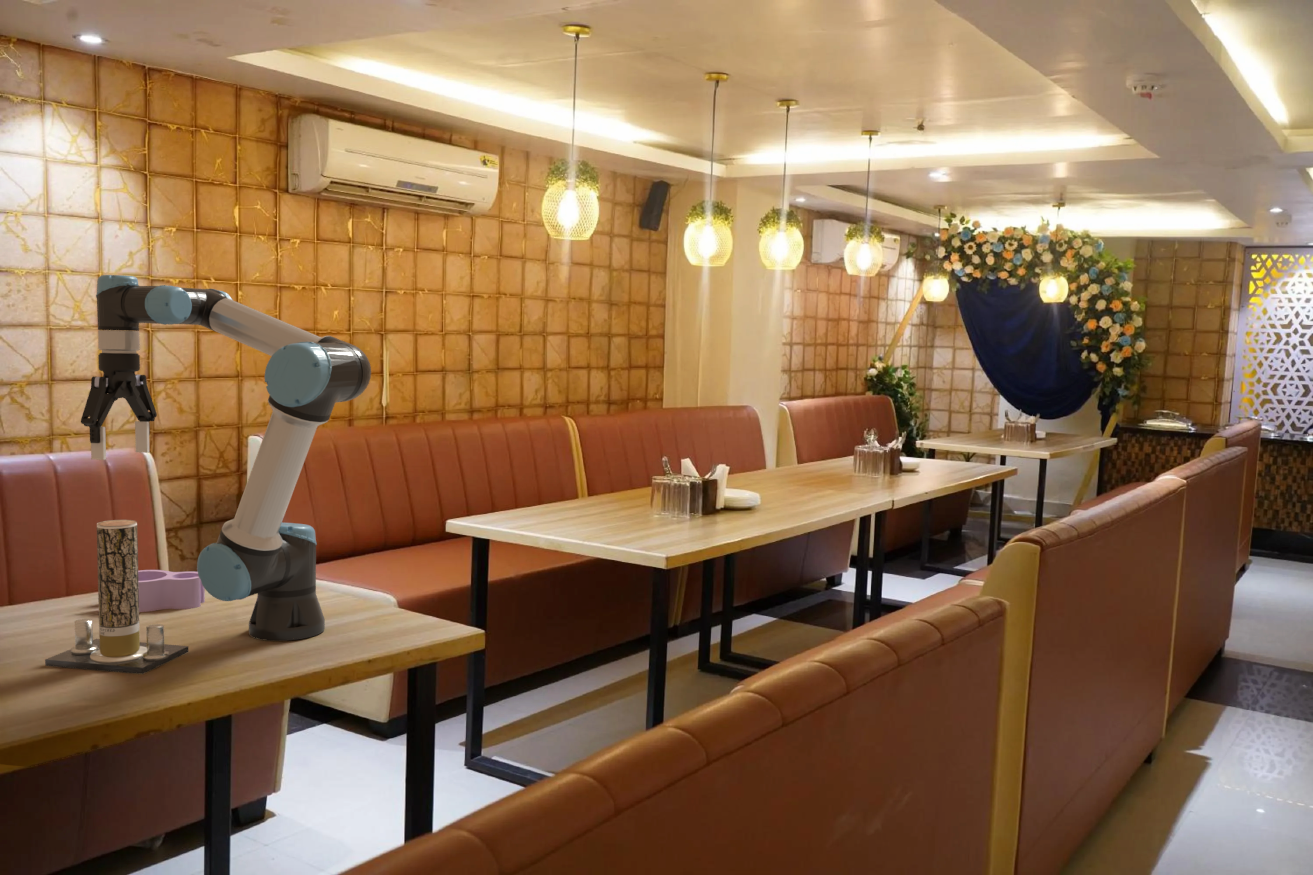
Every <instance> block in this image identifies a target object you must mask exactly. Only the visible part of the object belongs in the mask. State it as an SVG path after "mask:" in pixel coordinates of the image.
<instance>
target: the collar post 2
mask: <svg viewBox="0 0 1313 875" xmlns="http://www.w3.org/2000/svg"><path fill="white" fill-rule="evenodd" d="M145 632H146V643H147V652H145V653H143V660H145V661H159V660H163V659H166V658H168V657H169V652H168V651H166V650H164V644H165V625H164V624H161V623H159V624H158V623H157V624H150V625H147V626H146V630H145Z"/></svg>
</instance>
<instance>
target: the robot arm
mask: <svg viewBox="0 0 1313 875" xmlns="http://www.w3.org/2000/svg"><path fill="white" fill-rule="evenodd" d="M96 283H97V284H96V294H95V297H96V312H97V313H96V314H97V330H98V331H97V338H98V342H97V346H98V348H97V349H98V350H100V351H101V352H99V354H97V355H98V357H97V358H98V359H97V360H98V362H97V364H98V370H99V371H100V372H103V376H92V377H91V380H90V382H91V383H90V388H89V389H90V390H89V392H88V395H87V399H86V402H85V405H84V409H83V412H82V416H81V418H80V424H82V425H83V426H84V427H89V428H88V429H89V442H90V443H89V444H90V451H91V452H90V456H91V458H90V459H91V460H99V461H100V460H101V461H105V460H107V440H106V438H107V437H106V436H107V435H106V426H103V424H104V422H105V420H106V418H107V417H108V416H109V415H108V414H109V413H110V411H111V409H112V407H113V405H114V404H115V401H118V400H119V399H125V400H126V402H127V404H128V406H129V407H130V409H131V410H132V412H133V414H134V415H135V418H136V419H137V420H138V421H137V420H136V421H134V431H135V432H134V434H135V436H134V438H135V441H134V442H135V444H134V445H135V453H143V454H144V453H146V454H147V453H150V434H151V433H150V432H151V431H150V429H151V428H150V426H151V425H150V423H151V422H155V420H156V417H157V415H158V413H157V410H156V407H155V404H154V402H153V399H152V395H151V393H150V390H149V388H148V382H147V381H148V380H147V376H146V374H136V372H139V371H140V370H141V369H140V368H141V359H140V358H141V356H140V354H139V353H137V352H138V351H140V350H141V347H140V346H141V345H140V344H141V343H140V324H154V325H155V324H157V325H158V324H159V325H170V326H171V325H195V326H201V327H204V328H206V329H209V330H210V331H213V332H216V333H218V334H220V335H222V336H225V337H227V338H229V339H232V340H235V341H237V342H239V343H240V344H243V345H245V346H247V347H250V348H252V349H254V350H256V351H259V352H261V353H264V354H265V355H268V356H270V358H269V360H268V362H267V364H266V366H265V371H264V382H265V383H266V384H267V385H266V386H265V388H266V391H267V392H268V395H269V396H268V399H267V403H268V405H269V406H270V408H271V409H272V412H271V415H270V418H269V420H268V423H267V427H266V429H265V432H264V435H263V438H262V441H261V443H260V446H259V448H258V451H257V454H256V457H255V460H254V462H253V464H252V468H251V471H250V473H249V476H248V478H247V482H246V485H245V487H244V491H243V494H242V496H241V498H240V501H239V504H238V506H237V507H238V508H237V509H236V512H235V516H234V518H232V519H230V520H227V521H225V522H224V523H223V524H222V527H221V530H220V532H219V535H218V538H217V540H216V542H212V543H210V544H208V545H207V546H205V547H203V549H202V550H201V551H200V553H199V555H198V557H197V563H196V570H197V571H196V572H198V576H199V578H200V579H201V582H202V585H203V587H204V588H205V590H206V591H205V592H207V593H208V594H209V595H210V596H212V597H213V598H215V599H217V600H219V601H222V602H232V601H237V600H244V599H246V598H248V597H251V596H254V595H257V596H256V601H255V604H254V607H253V610H252V613H251V616H250V617H249V619H250V620H249V622H248V635H249V636H250V637H252V638H254V639H256V640H262V641H273V642H275V641H276V642H277V641H279V642H281V641H282V642H283V641H296V640H302V639H303V640H304V639H307V638H311V637H315V636H318V635H320V634H321V633H323V632H324V631H325V628H326V627H325V626H326V623H325V621H326V620H325V619H326V618H325V616H324V614H323V611H322V610H323V609H322V607H321V605H320V601H319V599H318V596H317V589H316V588H317V563H316V562H317V545H318V544H317V543H318V542H317V540H316V539H317V538H316V530H315V529H314V527H313V526H311V525H309V524H303V523H294V522H283V520H284V517H285V516H286V513H287V512H286V511H287V509H288V507H289V504H290V502H291V499H292V496H293V493H294V491H295V487H296V485H297V483H298V480H299V477H300V474H301V472H302V470H303V467H304V463H305V462H306V459H307V455H308V453H309V450H310V448H311V445H312V443H313V440H314V437H315V434H316V432H317V429H318V427H319V426H321V425H324V424H325V423H328V422H329V420H330V418H331V415H332V413H333V410H334V407H335V405H336V403H345V402H348V401H351V400H355V399H356V398H358V397H360V396H361V395H362V394H363V393H364V392H365V390H366V389H367V388H368V386H369V384H370V381H371V376H372V366H371V364H370V361H369V358H368V356H367V355H366V353H365V352H364V351H363V350H362V349H360V347H358V346H356V345H354V344H352V343H349V342H346V341H345V340H341V339H338V338H336V337H334V336H332V335H325V336H318V335H317V334H314V333H311V332H309V331H307V330H304V329H302V328H300V327H297V326H295V325H293V324H290V323H288V322H286V321H284V320H280V319H278V318H276V317H273V316H272V315H270V314H266V313H264V312H262V311H259V310H257V309H255V308H252V307H250V306H248V305H245V304H243V303H241V302H238V301H235V300H234V299H233V298H232V297H231V296H230V294H229V293H227V292H225V291H224V290H217V289H215V288H191V287H180V286H175V285H166V284H165V285H163V284H161V285H139V280H138V278H137V277H136V276H133V275H120V274H101V275H100V276H98V278H97V282H96Z"/></svg>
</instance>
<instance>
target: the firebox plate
mask: <svg viewBox="0 0 1313 875" xmlns="http://www.w3.org/2000/svg"><path fill="white" fill-rule="evenodd" d="M93 644H94V645H97V651H98V650H100V638H95V639H93ZM140 646H143V647H146V648H147V642H141V641H140ZM164 650H166V651H168V652H169V657H168V658H166V659H163V660H159V661H145V660H143V657H141V658H139V659H135V660H130V661H125V662H114V663H103V662H96V661H93V660H91V659H90V655H91V654H87V655H73V654H71V648H70V649H68V650H65V651H63V652H60V653H58V654H55V655H53V656H50V657H48V658H45V659H44V663H45V664H44V665H45V667H55V668H57V667H58V668H69V669H79V670H89V671H90V670H92V671H101V672H102V671H103V672H115V673H122V674H123V673H125V674H136V675H137V674H138V675H144V674H145V673H148V672H151V671H152V670H155V669H156V668H159V667H160V666H163V665H165V664H166V663H169V662H171V661H173V660H175V659H177V658H179V657H182V656H183V655H186V654H188V653H189V646H188V645H180V644H179V645H178V644H177V645H176V644H167V643H164Z"/></svg>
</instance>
